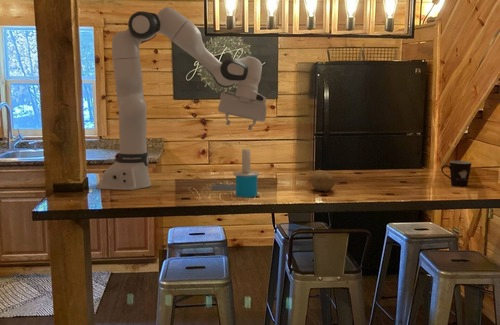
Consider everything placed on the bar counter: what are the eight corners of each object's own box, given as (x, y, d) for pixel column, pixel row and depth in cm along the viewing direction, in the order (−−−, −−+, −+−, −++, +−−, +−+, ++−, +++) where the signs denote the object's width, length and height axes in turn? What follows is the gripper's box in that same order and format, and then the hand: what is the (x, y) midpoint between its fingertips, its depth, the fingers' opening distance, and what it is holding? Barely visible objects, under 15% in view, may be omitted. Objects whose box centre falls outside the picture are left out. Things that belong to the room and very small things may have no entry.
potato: (314, 194, 207) (315, 174, 206) (306, 187, 221) (307, 168, 219) (339, 194, 208) (339, 174, 207) (329, 187, 222) (330, 168, 221)
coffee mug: (470, 184, 228) (472, 161, 227) (469, 188, 221) (471, 164, 219) (442, 182, 233) (443, 159, 232) (440, 185, 225) (441, 162, 224)
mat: (211, 191, 213) (211, 190, 213) (212, 185, 225) (212, 184, 225) (246, 191, 213) (246, 190, 213) (245, 185, 225) (245, 184, 225)
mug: (257, 198, 201) (257, 177, 200) (236, 198, 200) (236, 177, 199) (256, 191, 213) (256, 171, 211) (235, 192, 212) (235, 172, 211)
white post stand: (233, 176, 200) (233, 151, 199) (233, 172, 210) (233, 148, 209) (259, 176, 201) (259, 151, 199) (258, 172, 211) (258, 148, 209)
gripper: (221, 88, 219) (214, 120, 217) (269, 99, 219) (262, 131, 217) (221, 91, 225) (214, 123, 224) (268, 102, 225) (261, 133, 224)
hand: (238, 127), depth 220 cm, fingers open, 8 cm apart
